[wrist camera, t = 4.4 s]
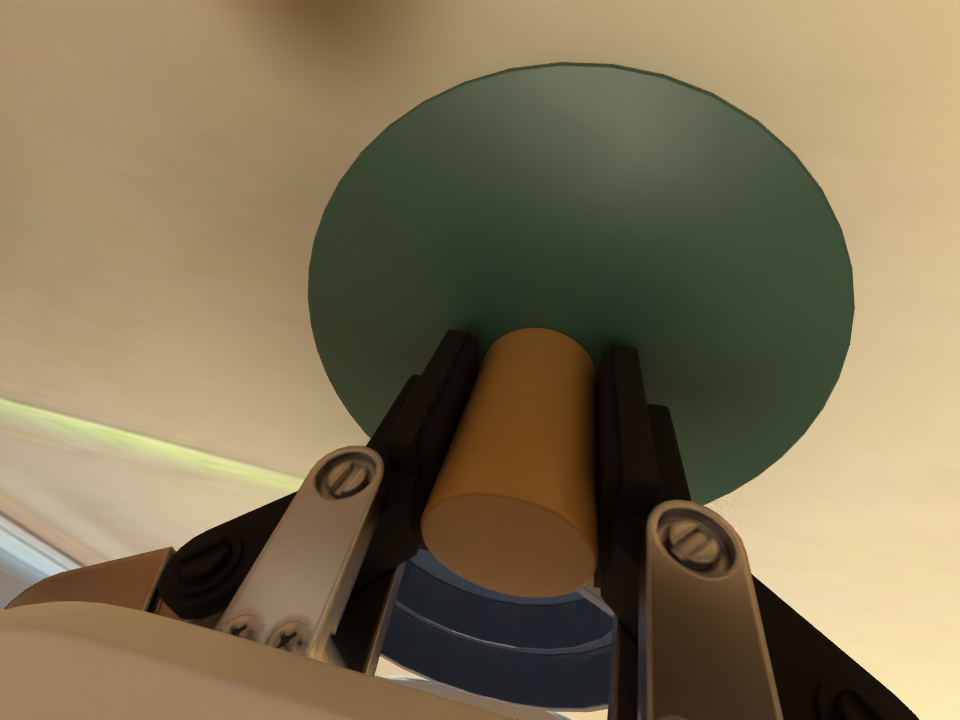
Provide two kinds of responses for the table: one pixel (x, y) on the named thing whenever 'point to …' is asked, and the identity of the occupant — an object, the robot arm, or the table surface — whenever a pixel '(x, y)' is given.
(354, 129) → the table surface
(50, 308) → the table surface
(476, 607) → the bowl
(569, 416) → the tin lid
